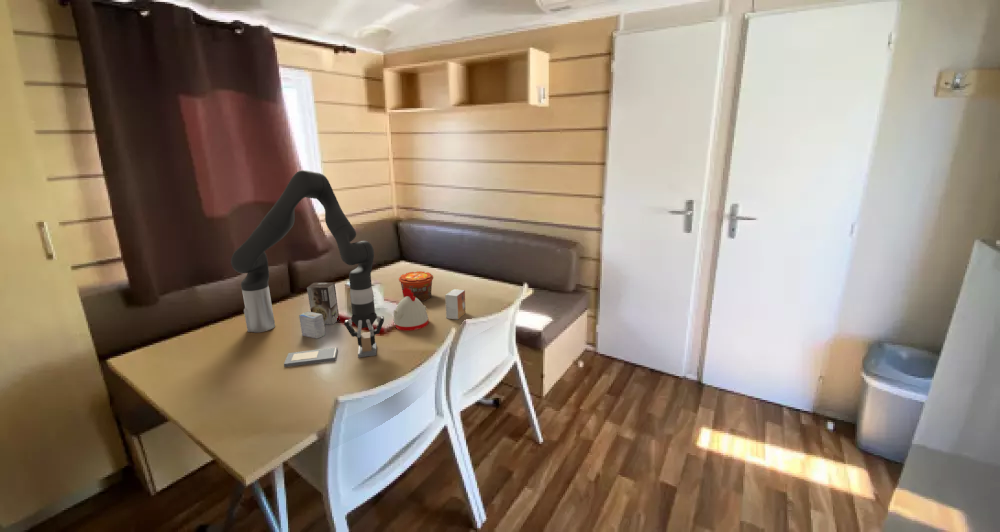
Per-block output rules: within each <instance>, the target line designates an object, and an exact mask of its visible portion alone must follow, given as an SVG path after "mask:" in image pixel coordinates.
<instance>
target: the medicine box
mask: <svg viewBox="0 0 1000 532" xmlns="http://www.w3.org/2000/svg"><path fill="white" fill-rule="evenodd" d="M298 316H299V317H298V319H299V323H300V328H301V336H303V337H308V338H313V339H316V340H318V339H320V338H321V337H323V336H325V335H326V328H325V324H324V321H323V315H322V314H319V313H314V312H311V311H306V312H303V313H301V314H300V315H298Z"/></svg>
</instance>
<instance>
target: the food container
mask: <svg viewBox="0 0 1000 532" xmlns="http://www.w3.org/2000/svg"><path fill="white" fill-rule="evenodd" d="M433 279H434V275H433V274H431V272H428V271H427V272H425V271H418V270H417V271H409V272H406V273H405V274H404V273H403V274H401V275H400V277H399V278H398V281H399V282H400V286H401V290H404V288H406V289H408V288H409V289H411V293H413V296H416V298H417V299H419V300H420V301H421V302H424V301H427V300H429V299H430V298H432V287H433ZM402 296H403V298H404V295H403V294H402Z"/></svg>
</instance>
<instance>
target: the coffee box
mask: <svg viewBox="0 0 1000 532" xmlns="http://www.w3.org/2000/svg"><path fill="white" fill-rule="evenodd" d="M335 283H336V282H313V283H310V285H308V286H307V287H306V290H307V296H308V297H307V298H308V303H309V310H310V312H314V313H319V314H322V315H323V321H324V325H334V324H335V323H336V322H338V321H337V318H338V316H339V317H340V314H339V313H340V312H339V305H338V299H337V292H336V291H337V290H336V289H337V288H336V284H335Z"/></svg>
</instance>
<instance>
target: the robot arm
mask: <svg viewBox="0 0 1000 532" xmlns="http://www.w3.org/2000/svg"><path fill="white" fill-rule="evenodd" d="M304 198H308V199H316V200H317V201H318V202H319V203H320V204H321V205H322V207H323V208H324V209H323V210H324V220H325V224H326V227H327V228H328V230H329V232H330V234H331V235H332V237H333V238H334V239H335V242H336V245H337V248H338V251H339V255H340V258H341V260H342V262H344V263H345V264H346V265H349V266H355V265H357V264H358V265H357V267H356V268H354V269H352V270H350V272H349V273H348V278H349V279H348V280H349V281H348V282H349V288H350V290H349V295H350V304H351V305H350V306H351V314H352V315H351V317H350V318H349V319H345V320H344V322H343V323H344V324H343V325H344V327H346V330H347V331H348V332H349V334H350V335H351V337H356V338H357V339H356V340H357V345H358V347H359V346H360V347H362V342H361V335H362V329H364V328H368V332H370V338H371V346H373V344H375V342H376V335H379V334H380V332H381V330H382V327H383V324H384V321H385V317H384V315H381V316H379V315H378V314H377V313H376V309H375V299H374V298H375V294H374V291H373V287H372V286H373V284H372V271H373V263H374V259H375V251H374V247H373V245H372V244H371V243H370V242H369V241H367V240H360V241H356V242H353V241H354V240H355V238H356V236H357V231H356V230H355V228H354V227H353V225H352V223H351V222H350V221H349V218H347V216H346V215H345V213H344V211H343V210H342V208H341V206H340V203H339V202H338V201H339V200H338V198H337V196H336V194H335V192H334V190H333V187H332V185H331V184H330V181H329V179H328V178H327V177H326V176H325V175H324V174H323V173H321V172H317V171H313V170H312V171H311V170H307V169H302V170H298V171H297V172H295V174H293V176H292V177H291V179H290V181H289V182H288V183H287V185H286V188H285V189H284V191H283V192H282V193H281V195H280V197H279V198H278V199H277V201H276V202H275V203H274V205H273V206H272V207H271V209H270V210H269V211H268V212H267V213H266V214H265V216H264V217H263V219H262V220H261V221H260V223H259V224H258V225H257V227H256V228H255V229H254V230H253V231H252V233H251V234H250V236H248V238H247V239H246V241H245V242H243V243H242V244H241V245H240V246H239V247H238V248H237V249H236V250H235V251H234V252H233V254H232V256H231V258H230V264H231V267H232V269H233V271H235V272H236V273H239V274H246V276H245V277H244V279H243V280H242V281H241V283H240V287H241V293H242V296H243V297H242V298H243V303H244V308H243V313H244V318H245V319H244V320H245V324H246V330H247V332H248V333H263V332H264V333H265V332H268V331H270V330H272V329H274V328H275V327H276V323H275V318H274V317H275V316H274V311H273V305H272V298H271V293H270V292H271V291H270V287H269V280H270V270H269V261H268V255H267V253H266V251H267V250H269V249H271V247H273V246H274V245H276V244H277V243H278V242H280V241H281V240H282V239H284V237H285V236H286V235H287V234H288V233H289V232H290V230H291V229H292V228H293V227H294V224H295V219H296V218H295V217H296V215H295V213H296V212H295V210H296V207H297V206H298V204H299V203H300V202H301V201H302V200H303V199H304ZM351 242H352V243H351ZM375 321H377V326H376V328H375V329H374V325H373V324H374V323H375ZM353 324H355V326H356V327H357V331H356V330H355V329H354V327H353Z"/></svg>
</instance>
